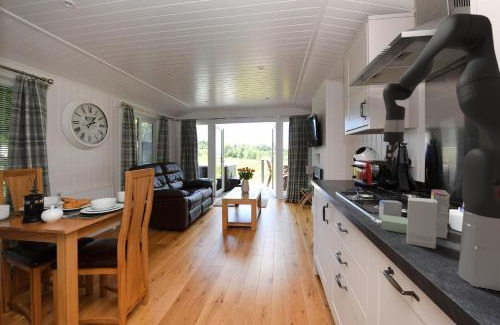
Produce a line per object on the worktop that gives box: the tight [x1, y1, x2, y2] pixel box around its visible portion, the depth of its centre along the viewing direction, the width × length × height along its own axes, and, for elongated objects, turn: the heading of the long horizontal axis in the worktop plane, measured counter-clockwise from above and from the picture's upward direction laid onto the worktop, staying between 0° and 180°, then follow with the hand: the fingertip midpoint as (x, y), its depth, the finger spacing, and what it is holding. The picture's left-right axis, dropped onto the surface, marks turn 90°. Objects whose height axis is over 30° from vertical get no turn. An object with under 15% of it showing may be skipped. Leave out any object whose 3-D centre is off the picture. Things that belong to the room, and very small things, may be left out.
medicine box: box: [378, 199, 403, 220], centre depth 108 cm, size 8×4×9 cm, turn 84°
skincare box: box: [406, 196, 438, 250], centre depth 82 cm, size 8×7×16 cm
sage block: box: [380, 214, 407, 235], centre depth 98 cm, size 10×10×4 cm
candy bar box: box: [430, 189, 451, 240], centre depth 92 cm, size 11×5×16 cm, turn 147°
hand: (390, 168), depth 105 cm, fingers open, 8 cm apart
